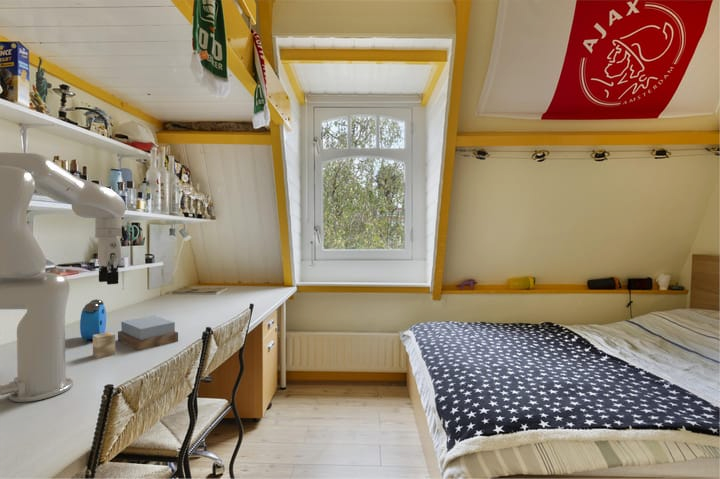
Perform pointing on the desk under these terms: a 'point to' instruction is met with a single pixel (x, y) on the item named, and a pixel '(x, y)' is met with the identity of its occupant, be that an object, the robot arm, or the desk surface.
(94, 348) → the beech block
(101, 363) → the desk surface
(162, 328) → the slate slab
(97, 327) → the alarm clock
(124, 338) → the walnut slab
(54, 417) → the desk surface
